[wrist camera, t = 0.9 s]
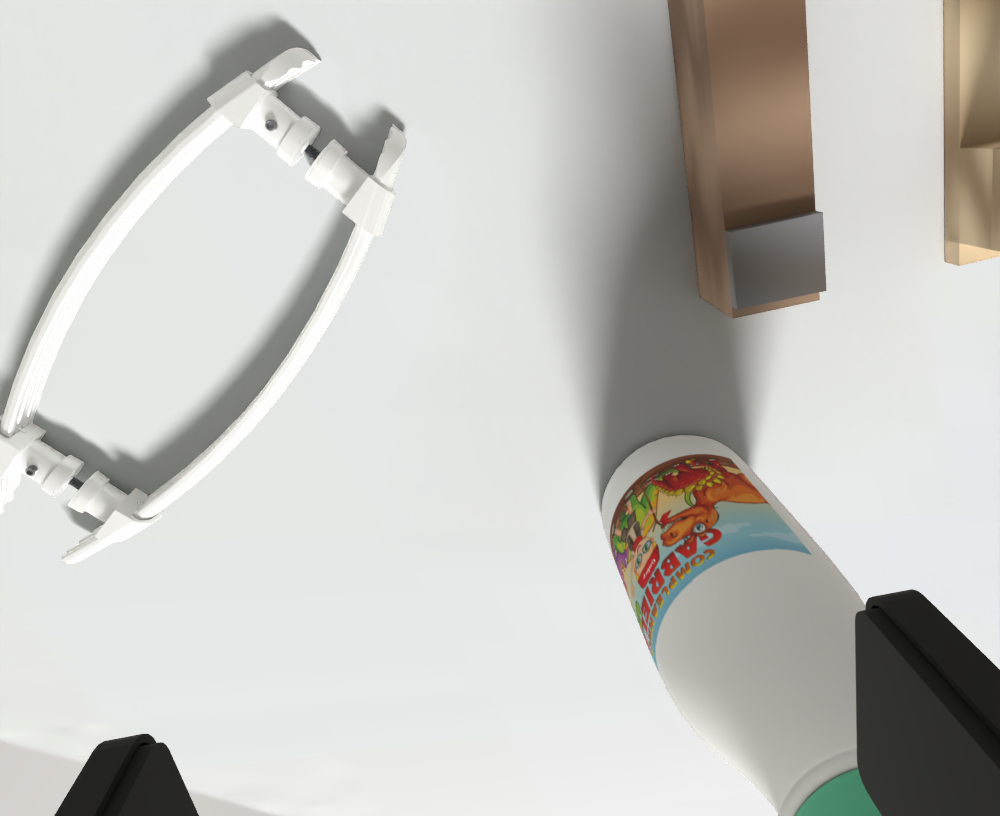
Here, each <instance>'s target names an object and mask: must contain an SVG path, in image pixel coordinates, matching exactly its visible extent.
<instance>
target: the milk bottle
mask: <svg viewBox="0 0 1000 816" xmlns="http://www.w3.org/2000/svg"><path fill="white" fill-rule="evenodd" d="M601 513H602V523H603V527H604V531H605V534H606V537H607V540H608V543H609V546H610V549H611V552H612V554H613V557H614V560H615V562H616V565H617V568H618V570H619V573H620V576H621V578H622V581H623V584H624V586H625V589H626V591H627V594H628V597H629V599H630V602H631V605H632V607H633V610H634V612H635V615H636V617H637V620H638V623H639V625H640V628H641V630H642V633H643V635H644V638H645V640H646V643H647V646H648V648H649V651H650V653H651V655H652V658H653V660H654V662H655V665H656V667H657V669H658V671H659V674H660V676H661V678H662V680H663V683H664V685H665V687H666V689H667V691H668V693H669V695H670V697H671V698H672V700H673V702H674V703H675V705H676V707H677V709H678V710H679V712H680V714H681V715H682V716H683V718H684V719H685V720H686V722H687V723H688V724H689V726H690V727H691V728H692V730H693V731H694V732H695V733H696V734H697V735H698V736H699V737H700V738H701V740H702V741H703V742H704V743H705V744H706V745H707V746H708V747H709V748H710V749H711V750H713V751H714V752H715V753H716V754H717V755H718V756H720V757H721V758H722V759H723V760H724V761H726V762H727V763H728V764H730V765H731V766H732V767H733V768H735V769H736V770H737V771H738V772H740V773H741V774H742V775H743V776H745V777H746V778H747V779H748V780H749V781H750V782H751V783H752V784H753V785H754V786H755V787H756V788H757V789H758V790H759V791H760V792H761V793H762V794H763V795H764V797H765V798H766V799H767V800H768V801H769V802H770V804H771V805H772V806H773V807H774V809H775V810H776V811H777V813H778V816H882V815H881V814H880V812H879V810H878V809H877V807H876V806H875V804H874V802H873V801H872V799H871V798H870V796H869V794H868V793H867V791H866V789H865V787H864V785H863V782H862V780H861V777H860V774H859V770H858V765H857V729H856V660H855V615H856V613H857V612H859V611H863V610H865V609H866V606H865V605H864V603H863V602H862V600H861V598H860V597H859V595H858V594H857V592H856V591H855V590H854V588H853V587H852V586H851V585H850V583H849V582H848V581H847V580H846V578H845V577H844V576H843V574H842V573H841V572H840V571H839V569H838V568H837V567H836V566H835V564H834V563H833V562H832V561H831V559H830V558H829V557H828V556H827V555H826V553H825V552H824V551H823V550H822V549H821V548H820V547H819V545H818V544H817V543H816V542H815V541H814V540H813V538H812V537H811V536H810V535H809V534H808V533H807V532H806V530H805V529H804V528H803V527H802V526H801V525H800V523H799V522H798V521H797V520H796V519H795V518H794V517H793V515H792V514H791V513H790V512H789V511H788V510H787V509H786V508H785V506H784V505H783V504H782V503H781V502H780V501H779V500H778V499H777V497H776V496H775V495H774V494H773V493H772V492H771V491H770V490H769V488H768V487H767V486H766V485H765V484H764V483H763V482H762V481H761V479H760V478H759V477H758V476H757V475H756V474H755V473H754V472H753V471H752V469H751V468H750V467H749V466H748V465H747V464H746V463H745V462H744V461H743V460H742V459H741V458H740V457H739V456H738V455H737V454H736V453H735V452H734V451H732V450H731V449H730V448H728V447H727V446H725V445H724V444H722V443H720V442H718V441H715V440H713V439H710V438H706V437H701V436H694V435H677V436H671V437H664V438H661V439H658V440H656V441H653V442H650V443H648V444H646V445H644V446H643V447H641V448H639V449H637V450H636V451H634V452H633V453H632V454H631V455H630V456H628V457H627V458H626V459H625V460H624V461H623V462H622V463H621V465H620V466H619V467H618V468H617V469H616V470H615V472H614V474H613V476H612V477H611V479H610V481H609V483H608V485H607V487H606V490H605V493H604V496H603V501H602V511H601Z"/></svg>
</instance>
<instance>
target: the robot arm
mask: <svg viewBox="0 0 1000 816" xmlns="http://www.w3.org/2000/svg"><path fill="white" fill-rule="evenodd" d="M855 660H856V729H857V765H858V770H859V774H860V777H861V780H862V782H863V785H864V787H865V789H866V791H867V793H868V794H869V796H870V798H871V799H872V801H873V802H874V804H875V806H876V807H877V809H878V810H879V812H880V814H881V815H882V816H1000V670H999V669H998V668H997V667H996V666H995V665H994V664H993V663H992V662H991V661H990V660H989V659H988V658H987V657H986V656H985V655H984V654H983V653H982V652H981V651H980V650H979V649H978V648H977V647H976V646H975V645H974V644H973V643H972V642H971V641H970V640H969V639H968V638H967V637H966V636H965V635H964V634H963V633H961V632H960V631H959V630H958V629H957V628H956V627H955V626H954V625H953V624H952V623H951V622H950V621H949V620H948V619H947V618H946V617H945V616H944V615H943V614H942V613H941V612H940V611H939V610H938V609H937V608H936V607H935V606H934V605H933V604H932V603H931V602H930V601H929V600H928V599H927V598H926V597H925V596H924V595H922V594H921V593H920V592H918V591H916V590H907V591H901V592H896V593H891V594H885V595H880V596H875V597H871V598H869V599H868V600H867V602H866V609H865V610H863V611H859V612H857V613H856V615H855ZM55 816H199V815H198V813H197V810H196V808H195V806H194V804H193V802H192V800H191V797H190V795H189V793H188V791H187V788H186V786H185V784H184V782H183V780H182V777H181V775H180V773H179V771H178V768H177V766H176V764H175V762H174V760H173V757H172V755H171V753H170V751H169V749H168V747H167V746H166V745H165V744H164V743H156V741H155V740H154V738H153V737H152V736H150V735H149V734H140V735H135V736H130V737H125V738H119V739H114V740H109V741H104V742H102V743H101V744H99V745H98V746H97V747H96V748H95V750H94V751H93V752H92V754H91V756H90V757H89V759H88V761H87V762H86V764H85V766H84V767H83V769H82V771H81V772H80V774H79V776H78V777H77V779H76V781H75V783H74V784H73V786H72V787H71V789H70V791H69V792H68V794H67V796H66V797H65V799H64V801H63V802H62V804H61V806H60V807H59V809H58V811H57V813H56V814H55Z"/></svg>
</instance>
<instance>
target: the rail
mask: <svg viewBox="0 0 1000 816" xmlns="http://www.w3.org/2000/svg"><path fill="white" fill-rule="evenodd" d="M668 8H669V17H670V26H671V36H672V45H673V54H674V63H675V73H676V82H677V91H678V100H679V110H680V119H681V128H682V137H683V147H684V156H685V165H686V174H687V184H688V193H689V202H690V212H691V221H692V230H693V239H694V249H695V258H696V267H697V276H698V286H699V295H700V297H701V298H702V299H704V300H706V301H707V302H709V303H710V304H712V305H713V306H715V307H716V308H718V309H719V310H721V311H722V312H724V313H725V314H727V315H728V316H730V317H731V318H737V317H742V316H747V315H751V314H756V313H761V312H765V311H770V310H775V309H779V308H784V307H789V306H793V305H798V304H803V303H807V302H812V301H817V300H820V299H819V292H822V291H826V275H825V253H824V231H823V212H818V211H815V195H814V174H813V153H812V132H811V111H810V91H809V70H808V49H807V28H806V7H805V0H668Z"/></svg>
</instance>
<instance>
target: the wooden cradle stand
mask: <svg viewBox="0 0 1000 816" xmlns="http://www.w3.org/2000/svg"><path fill="white" fill-rule="evenodd" d="M944 144H945V262H947V263H950V264H954V265H958V266H960V265H965V264H969V263H973V262H977V261H982V260H986V259H990V258H995V257H999V256H1000V0H944Z"/></svg>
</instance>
